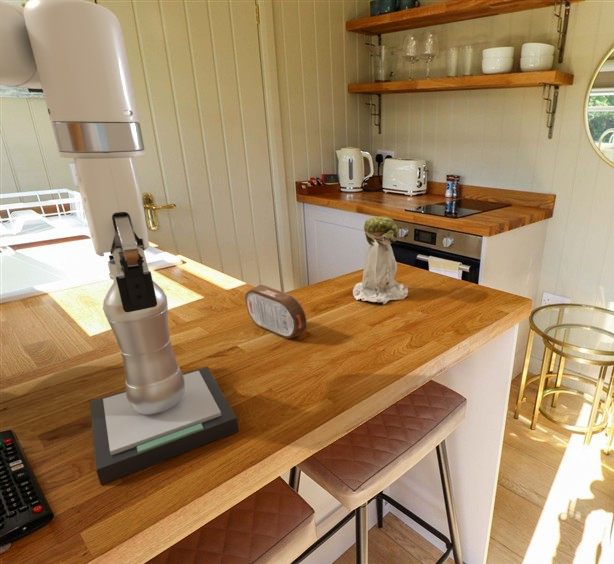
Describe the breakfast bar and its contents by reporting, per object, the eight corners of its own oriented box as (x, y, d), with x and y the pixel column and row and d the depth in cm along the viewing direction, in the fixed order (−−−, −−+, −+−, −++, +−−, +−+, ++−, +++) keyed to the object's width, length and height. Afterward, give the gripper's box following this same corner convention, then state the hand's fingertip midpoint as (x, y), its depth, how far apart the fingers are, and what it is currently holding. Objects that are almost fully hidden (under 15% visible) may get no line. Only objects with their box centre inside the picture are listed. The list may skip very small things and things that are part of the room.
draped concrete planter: (342, 292, 100) (339, 216, 94) (385, 280, 108) (385, 209, 102) (371, 308, 92) (370, 225, 85) (416, 294, 100) (418, 217, 93)
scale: (100, 485, 47) (94, 465, 46) (93, 414, 58) (88, 397, 57) (239, 431, 55) (236, 413, 54) (209, 378, 66) (206, 363, 65)
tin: (309, 339, 79) (306, 297, 76) (296, 346, 76) (292, 303, 73) (258, 318, 87) (254, 279, 84) (245, 323, 84) (240, 284, 81)
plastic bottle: (198, 400, 56) (171, 257, 49) (147, 428, 51) (109, 273, 44) (170, 384, 60) (142, 248, 53) (120, 410, 54) (80, 262, 47)
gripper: (57, 138, 48) (93, 280, 54) (54, 146, 35) (102, 332, 41) (133, 138, 52) (159, 270, 59) (155, 144, 39) (186, 313, 46)
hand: (135, 295), depth 50 cm, fingers open, 8 cm apart
